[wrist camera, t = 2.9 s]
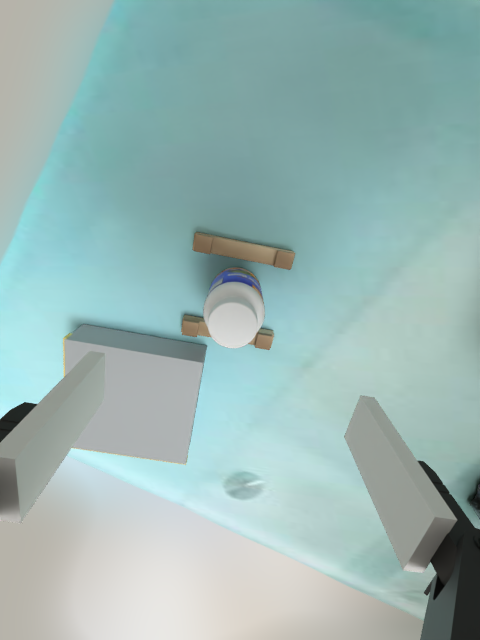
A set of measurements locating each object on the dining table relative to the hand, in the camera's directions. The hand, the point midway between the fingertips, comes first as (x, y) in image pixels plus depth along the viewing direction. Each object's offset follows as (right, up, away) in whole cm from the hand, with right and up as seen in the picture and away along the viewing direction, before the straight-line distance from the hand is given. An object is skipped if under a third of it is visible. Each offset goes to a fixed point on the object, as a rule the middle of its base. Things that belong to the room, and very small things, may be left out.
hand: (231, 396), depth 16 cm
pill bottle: (0, +7, +18) cm, 19 cm away
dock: (-12, -4, +22) cm, 25 cm away
